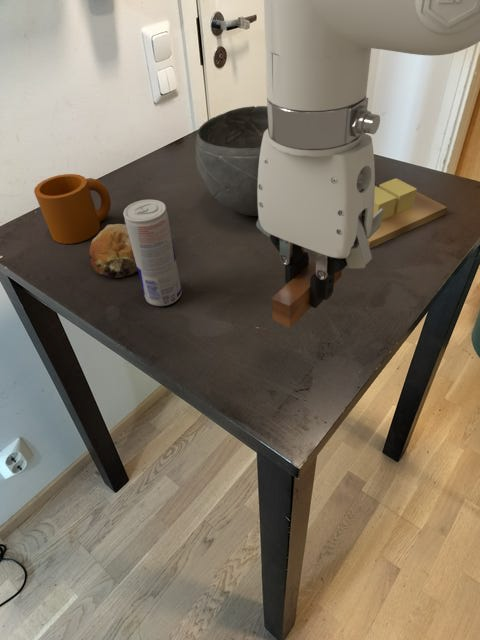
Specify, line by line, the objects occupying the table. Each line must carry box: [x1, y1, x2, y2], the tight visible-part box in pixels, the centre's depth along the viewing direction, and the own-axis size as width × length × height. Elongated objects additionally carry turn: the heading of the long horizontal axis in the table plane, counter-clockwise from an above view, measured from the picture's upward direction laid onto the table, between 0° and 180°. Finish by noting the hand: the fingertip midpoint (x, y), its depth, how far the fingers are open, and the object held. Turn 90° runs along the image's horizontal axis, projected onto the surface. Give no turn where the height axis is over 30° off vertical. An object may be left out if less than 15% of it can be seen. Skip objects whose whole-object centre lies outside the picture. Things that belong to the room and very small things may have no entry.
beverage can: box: [122, 199, 183, 307], centre depth 65 cm, size 6×6×15 cm
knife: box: [271, 209, 383, 329], centre depth 51 cm, size 21×2×3 cm, turn 141°
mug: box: [33, 173, 112, 245], centre depth 82 cm, size 9×12×9 cm
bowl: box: [194, 105, 268, 217], centre depth 83 cm, size 21×21×15 cm
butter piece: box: [373, 185, 397, 221], centre depth 80 cm, size 4×5×4 cm
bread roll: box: [88, 223, 138, 279], centre depth 76 cm, size 10×10×8 cm
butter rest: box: [378, 177, 418, 214], centre depth 82 cm, size 4×5×4 cm
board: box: [367, 191, 448, 249], centre depth 83 cm, size 18×12×2 cm, turn 122°
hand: (308, 293), depth 49 cm, fingers closed on knife, 2 cm apart
